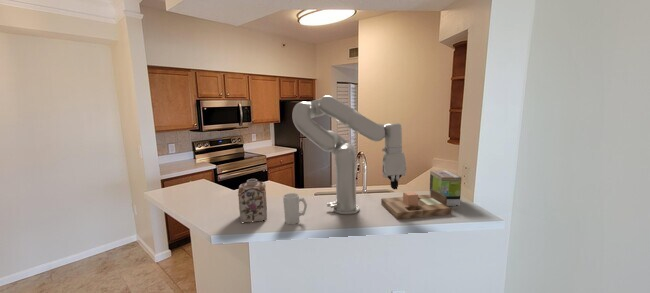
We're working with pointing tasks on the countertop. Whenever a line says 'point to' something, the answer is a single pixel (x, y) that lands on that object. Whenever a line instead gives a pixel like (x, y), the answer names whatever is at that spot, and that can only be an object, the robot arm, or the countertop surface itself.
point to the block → (410, 198)
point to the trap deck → (418, 206)
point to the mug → (293, 208)
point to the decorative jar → (252, 201)
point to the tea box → (446, 185)
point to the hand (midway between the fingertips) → (394, 188)
